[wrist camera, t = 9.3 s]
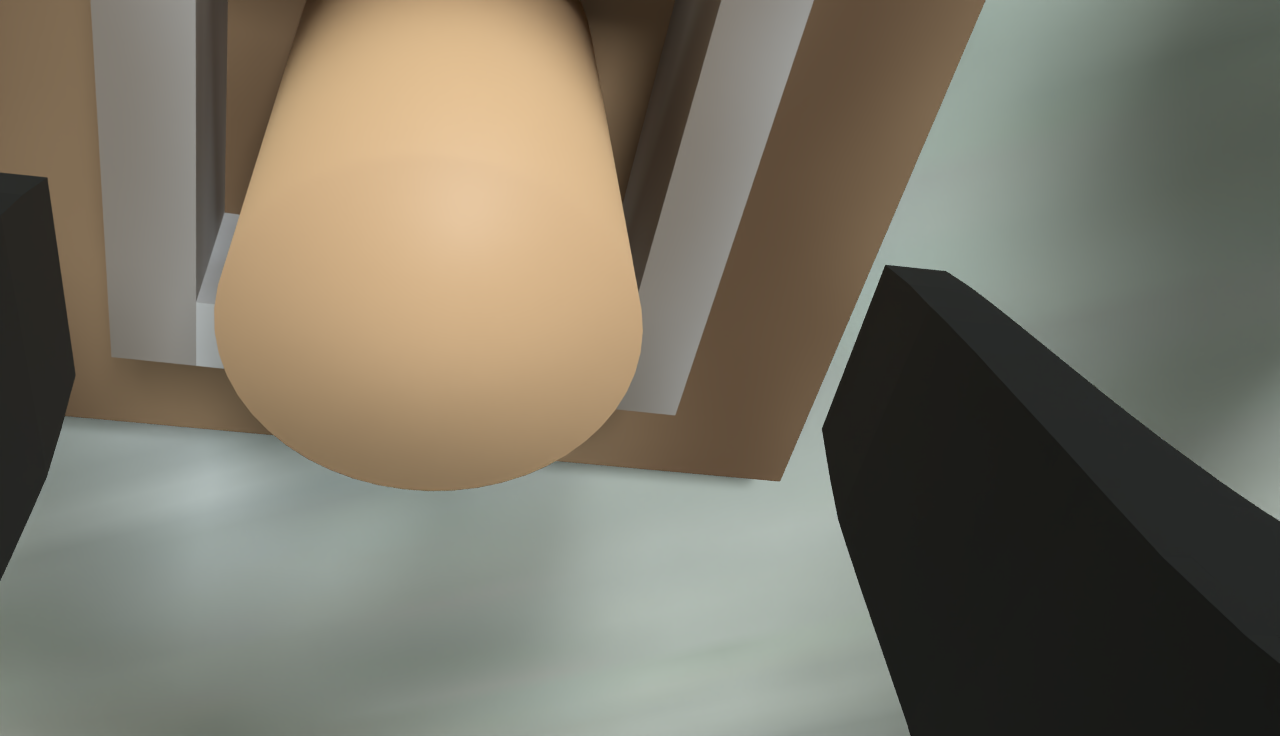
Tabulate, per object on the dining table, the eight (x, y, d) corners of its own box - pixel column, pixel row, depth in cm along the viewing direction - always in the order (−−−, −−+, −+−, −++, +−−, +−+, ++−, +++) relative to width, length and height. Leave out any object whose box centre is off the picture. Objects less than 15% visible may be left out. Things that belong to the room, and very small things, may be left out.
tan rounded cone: (610, -69, 16) (673, 174, 11) (576, 196, 19) (614, 496, 14) (293, -106, 16) (194, 136, 10) (304, 177, 18) (230, 485, 13)
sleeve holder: (1127, -421, 15) (1267, -390, 13) (770, 448, 25) (807, 572, 22) (-243, -849, 12) (-460, -936, 9) (-44, 369, 21) (-119, 505, 18)
